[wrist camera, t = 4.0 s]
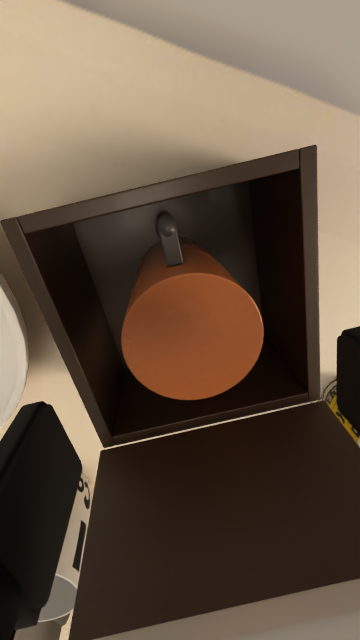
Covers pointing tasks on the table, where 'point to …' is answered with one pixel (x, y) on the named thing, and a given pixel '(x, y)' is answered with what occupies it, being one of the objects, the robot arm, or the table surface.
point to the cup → (70, 558)
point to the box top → (219, 520)
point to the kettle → (188, 320)
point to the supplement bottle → (331, 401)
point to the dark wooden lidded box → (223, 244)
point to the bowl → (11, 352)
